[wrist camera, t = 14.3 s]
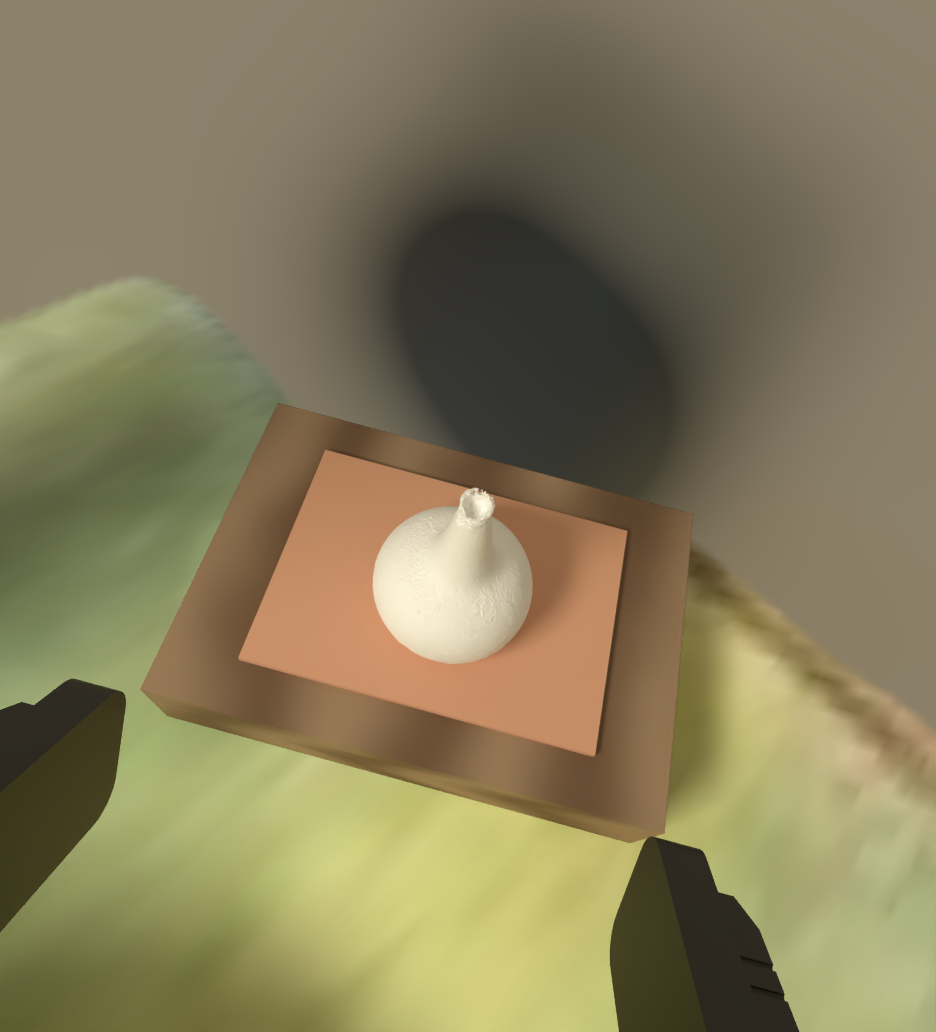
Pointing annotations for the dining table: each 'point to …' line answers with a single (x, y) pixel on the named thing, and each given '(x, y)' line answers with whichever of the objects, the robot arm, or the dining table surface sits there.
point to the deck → (413, 732)
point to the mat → (408, 676)
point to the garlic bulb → (453, 582)
